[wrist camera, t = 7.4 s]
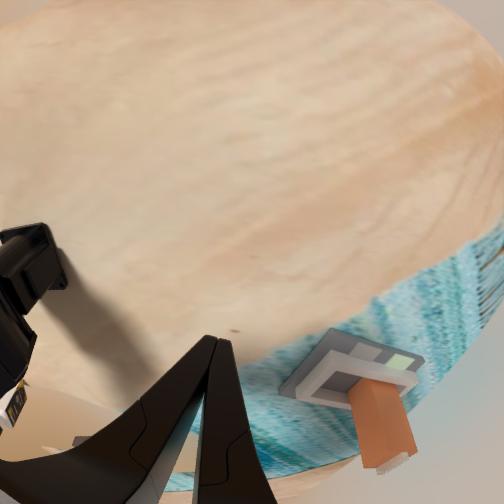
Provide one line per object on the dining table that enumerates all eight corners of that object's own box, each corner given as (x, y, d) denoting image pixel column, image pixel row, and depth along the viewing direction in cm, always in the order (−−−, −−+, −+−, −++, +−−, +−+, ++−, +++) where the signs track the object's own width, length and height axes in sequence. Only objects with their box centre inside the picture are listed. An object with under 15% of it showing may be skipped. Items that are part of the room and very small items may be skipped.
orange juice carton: (347, 391, 30) (365, 475, 21) (367, 372, 28) (391, 459, 19) (373, 396, 31) (394, 473, 22) (393, 378, 29) (419, 458, 20)
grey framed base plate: (278, 389, 31) (279, 406, 29) (330, 327, 27) (335, 346, 25) (368, 406, 34) (372, 421, 32) (422, 356, 29) (429, 371, 27)
